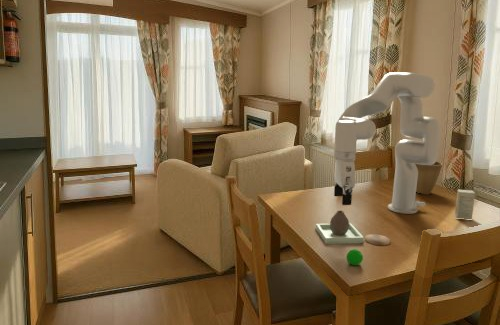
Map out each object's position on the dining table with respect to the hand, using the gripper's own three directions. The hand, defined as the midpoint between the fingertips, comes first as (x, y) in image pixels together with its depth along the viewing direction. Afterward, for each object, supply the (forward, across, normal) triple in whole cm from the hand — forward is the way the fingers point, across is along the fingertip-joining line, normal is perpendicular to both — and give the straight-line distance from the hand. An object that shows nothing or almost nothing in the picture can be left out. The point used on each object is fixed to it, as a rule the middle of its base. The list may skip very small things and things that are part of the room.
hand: (342, 200), depth 152 cm
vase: (+13, 0, +1) cm, 13 cm away
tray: (+14, -1, +1) cm, 14 cm away
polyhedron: (+13, -24, +3) cm, 27 cm away
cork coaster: (+14, -6, -12) cm, 19 cm away
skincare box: (+16, +15, -58) cm, 62 cm away
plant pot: (+17, +53, -60) cm, 82 cm away
